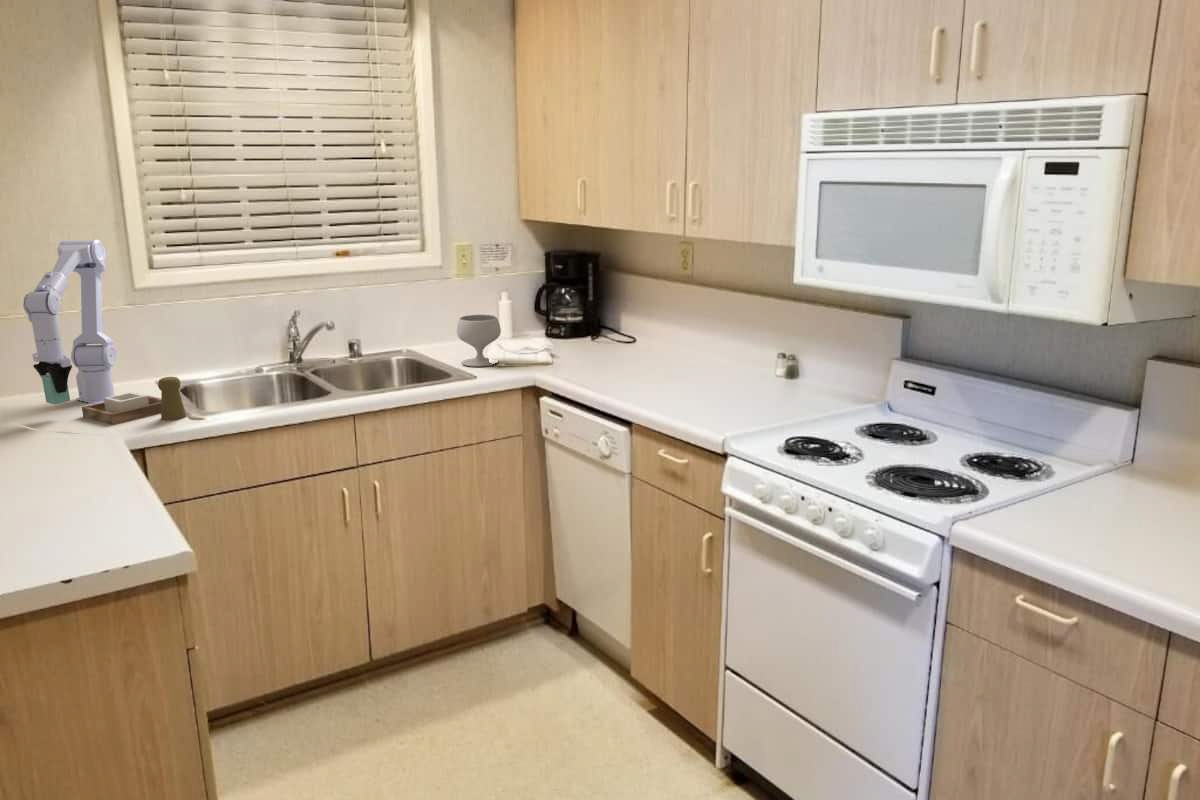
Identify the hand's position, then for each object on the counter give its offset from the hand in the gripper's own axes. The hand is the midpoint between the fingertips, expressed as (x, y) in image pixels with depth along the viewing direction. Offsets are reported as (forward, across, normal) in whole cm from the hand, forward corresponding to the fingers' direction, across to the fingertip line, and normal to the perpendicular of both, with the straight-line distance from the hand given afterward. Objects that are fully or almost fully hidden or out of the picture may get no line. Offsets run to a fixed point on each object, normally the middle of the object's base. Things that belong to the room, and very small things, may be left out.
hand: (56, 391), depth 236 cm
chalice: (+8, +50, +107) cm, 118 cm away
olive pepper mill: (+8, +24, +16) cm, 30 cm away
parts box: (+8, +10, +12) cm, 17 cm away
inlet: (+7, +10, +12) cm, 17 cm away
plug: (+3, 0, 0) cm, 3 cm away
